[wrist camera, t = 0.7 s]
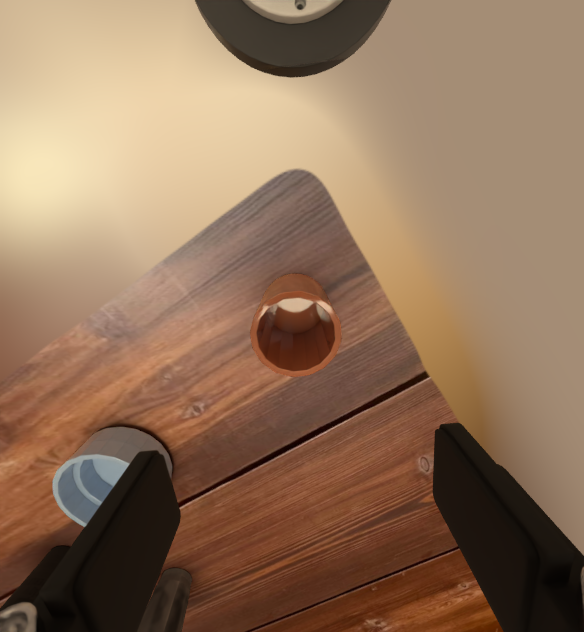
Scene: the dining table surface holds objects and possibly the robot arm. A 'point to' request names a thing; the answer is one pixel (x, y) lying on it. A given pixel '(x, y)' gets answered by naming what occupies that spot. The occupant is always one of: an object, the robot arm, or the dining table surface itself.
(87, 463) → the bowl
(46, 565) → the drinking cup
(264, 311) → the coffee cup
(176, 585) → the beverage cup
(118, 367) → the dining table surface
